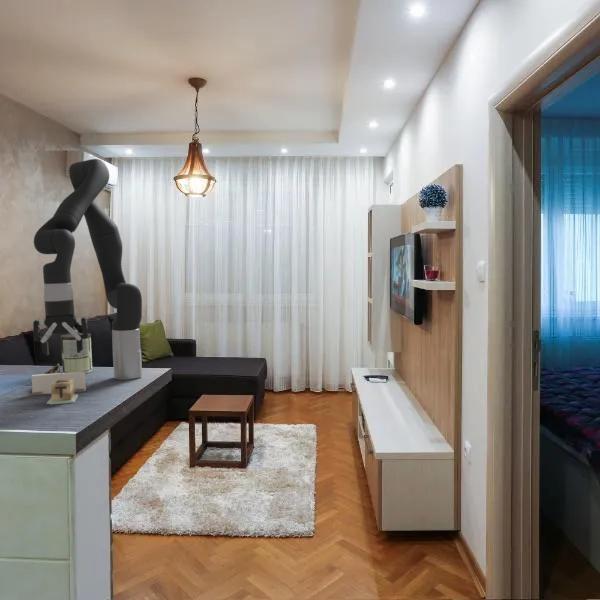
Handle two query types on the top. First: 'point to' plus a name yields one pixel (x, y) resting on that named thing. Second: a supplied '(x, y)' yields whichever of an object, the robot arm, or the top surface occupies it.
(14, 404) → the top surface
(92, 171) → the robot arm
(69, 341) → the coffee can
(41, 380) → the screen
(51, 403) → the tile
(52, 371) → the rock
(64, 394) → the letter cube
